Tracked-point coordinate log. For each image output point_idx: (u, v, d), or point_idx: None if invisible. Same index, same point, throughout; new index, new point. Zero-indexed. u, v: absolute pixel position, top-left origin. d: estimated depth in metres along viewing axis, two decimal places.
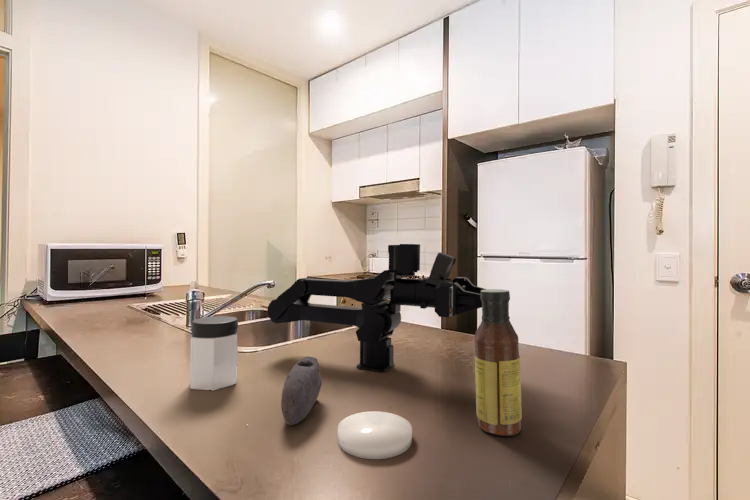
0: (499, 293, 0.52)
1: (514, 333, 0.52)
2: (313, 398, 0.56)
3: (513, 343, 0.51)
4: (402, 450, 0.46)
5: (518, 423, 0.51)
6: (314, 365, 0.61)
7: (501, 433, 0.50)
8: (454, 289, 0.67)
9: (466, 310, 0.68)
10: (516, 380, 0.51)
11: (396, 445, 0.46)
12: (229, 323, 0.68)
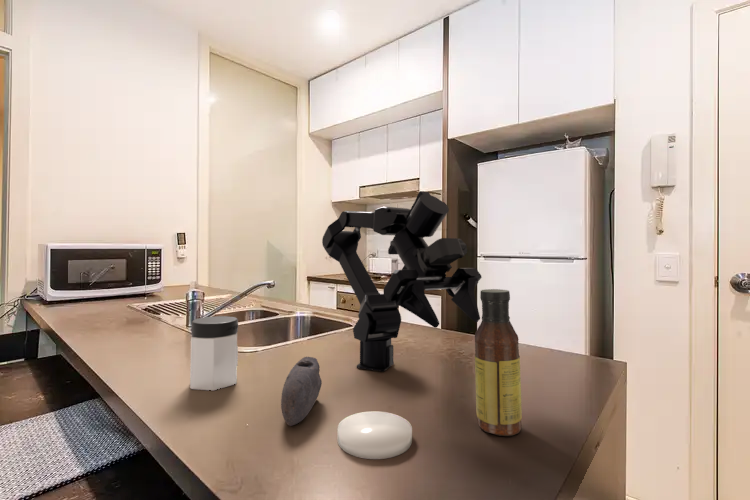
0: (499, 293, 0.52)
1: (514, 333, 0.52)
2: (313, 398, 0.56)
3: (513, 343, 0.51)
4: (402, 450, 0.46)
5: (518, 423, 0.51)
6: (314, 365, 0.61)
7: (501, 433, 0.50)
8: (406, 286, 0.59)
9: (410, 310, 0.61)
10: (516, 380, 0.51)
11: (396, 445, 0.46)
12: (229, 323, 0.68)
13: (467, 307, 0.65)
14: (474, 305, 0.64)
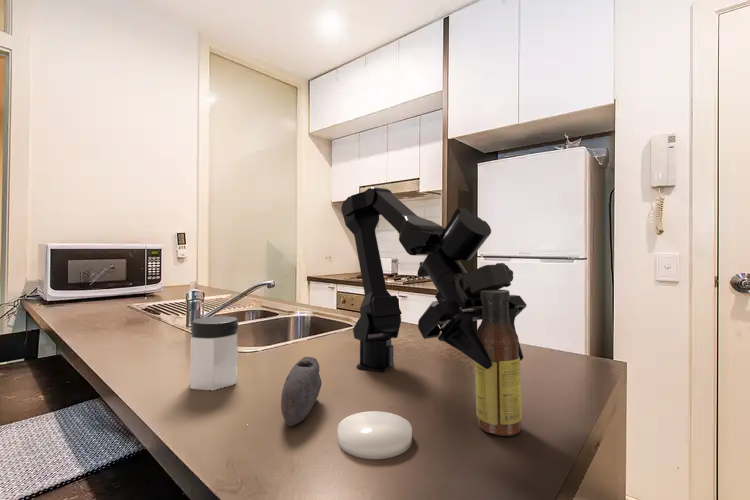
0: (499, 293, 0.52)
1: (514, 333, 0.52)
2: (313, 398, 0.56)
3: (513, 343, 0.51)
4: (402, 450, 0.46)
5: (518, 423, 0.51)
6: (314, 365, 0.61)
7: (501, 433, 0.50)
8: (454, 321, 0.52)
9: (455, 346, 0.54)
10: (516, 380, 0.51)
11: (396, 445, 0.46)
12: (229, 323, 0.68)
13: None
14: None
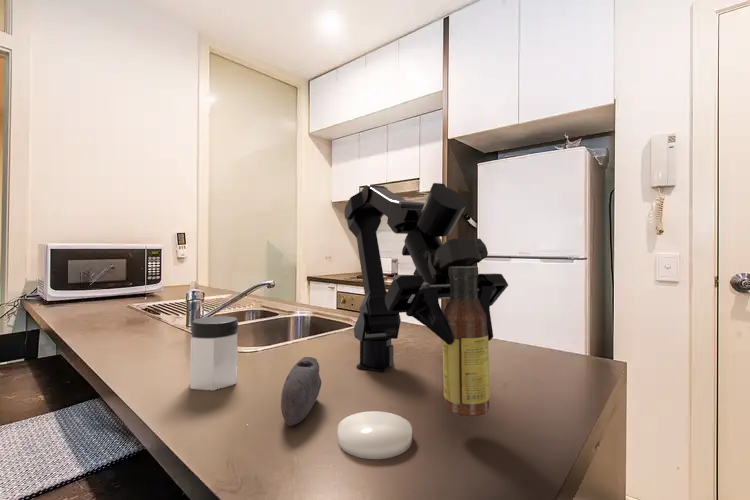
0: (464, 268, 0.50)
1: (481, 310, 0.50)
2: (313, 398, 0.56)
3: (477, 320, 0.49)
4: (402, 450, 0.46)
5: (483, 404, 0.49)
6: (314, 365, 0.61)
7: (463, 412, 0.49)
8: (417, 295, 0.51)
9: (422, 322, 0.53)
10: (480, 359, 0.49)
11: (396, 445, 0.46)
12: (229, 323, 0.68)
13: None
14: (487, 320, 0.52)
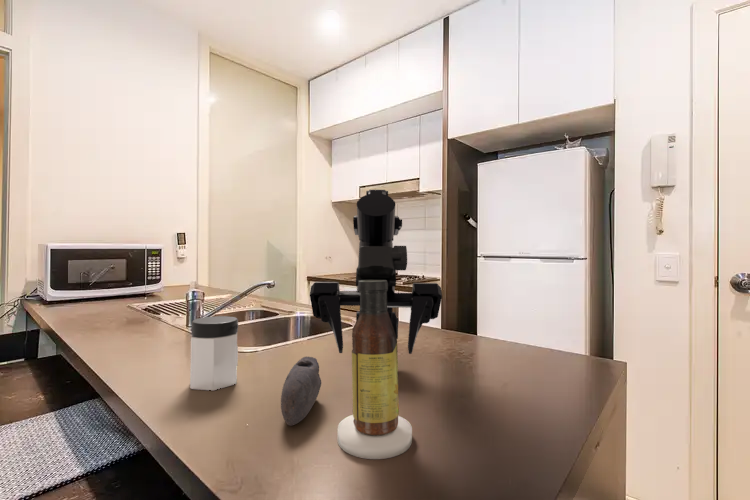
0: (365, 282, 0.49)
1: (382, 327, 0.48)
2: (313, 398, 0.56)
3: (373, 336, 0.47)
4: (402, 450, 0.46)
5: (380, 424, 0.47)
6: (313, 365, 0.61)
7: (359, 429, 0.48)
8: (318, 301, 0.52)
9: (331, 328, 0.53)
10: (375, 377, 0.47)
11: (396, 445, 0.46)
12: (229, 323, 0.68)
13: None
14: (411, 332, 0.50)
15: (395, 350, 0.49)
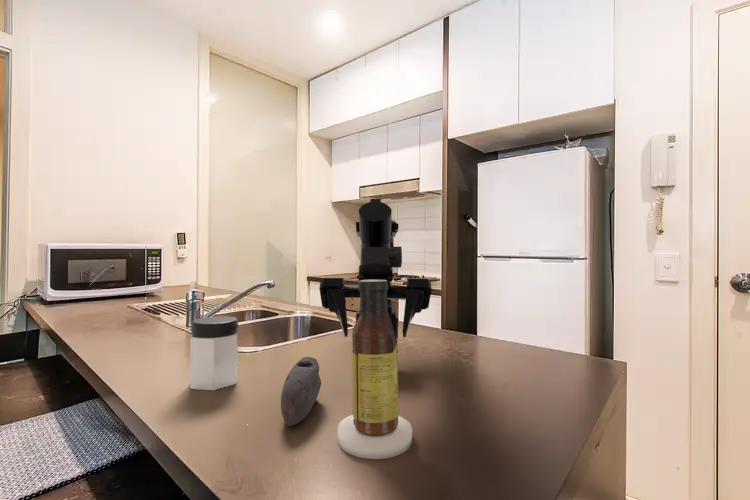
0: (365, 282, 0.49)
1: (382, 327, 0.48)
2: (313, 398, 0.56)
3: (373, 336, 0.47)
4: (402, 450, 0.46)
5: (380, 425, 0.47)
6: (313, 365, 0.61)
7: (359, 429, 0.48)
8: (327, 293, 0.61)
9: (338, 317, 0.63)
10: (375, 377, 0.47)
11: (396, 445, 0.46)
12: (229, 323, 0.68)
13: None
14: (405, 319, 0.59)
15: (395, 350, 0.49)
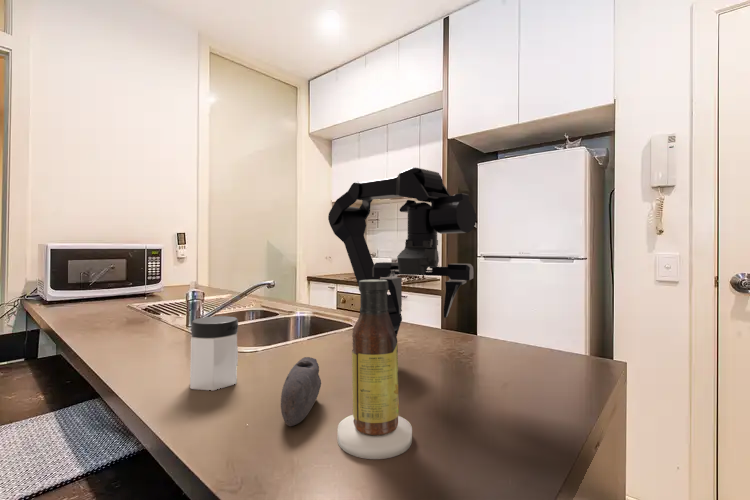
0: (365, 282, 0.49)
1: (382, 327, 0.48)
2: (313, 399, 0.56)
3: (374, 336, 0.47)
4: (402, 450, 0.46)
5: (380, 425, 0.47)
6: (313, 366, 0.61)
7: (359, 429, 0.48)
8: None
9: None
10: (375, 377, 0.47)
11: (396, 445, 0.46)
12: (229, 323, 0.68)
13: None
14: (445, 305, 0.68)
15: (395, 350, 0.49)
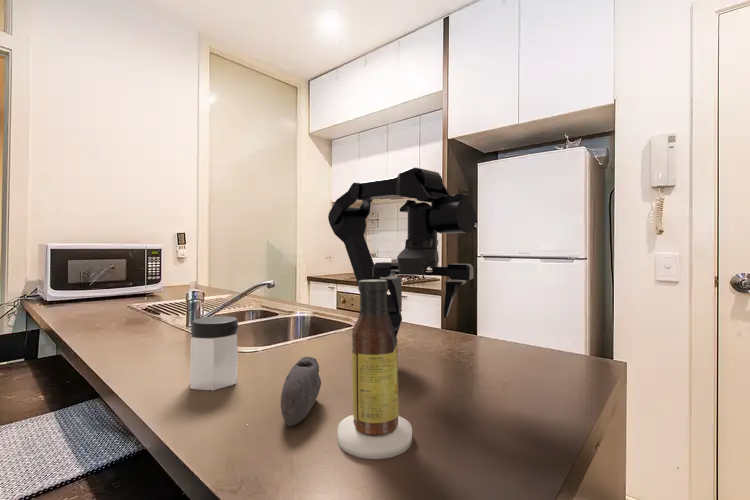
0: (365, 282, 0.49)
1: (382, 327, 0.48)
2: (313, 398, 0.56)
3: (373, 336, 0.47)
4: (402, 450, 0.46)
5: (380, 425, 0.47)
6: (313, 365, 0.61)
7: (359, 429, 0.48)
8: None
9: None
10: (375, 377, 0.47)
11: (396, 445, 0.46)
12: (229, 323, 0.68)
13: None
14: (445, 305, 0.68)
15: (395, 350, 0.49)
